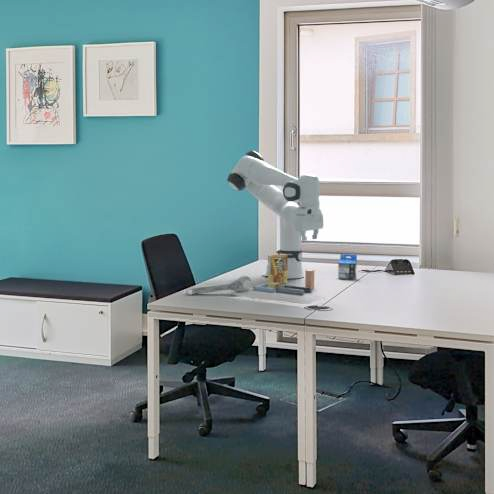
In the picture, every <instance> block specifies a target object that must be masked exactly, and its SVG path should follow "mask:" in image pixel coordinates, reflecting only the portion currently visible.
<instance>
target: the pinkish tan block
mask: <svg viewBox="0 0 494 494" xmlns="http://www.w3.org/2000/svg"><path fill="white" fill-rule="evenodd" d="M304 272H305V275H304V277H305V280H304V282H305V285H304V287H308V288H312V290H313V289H315V269H306V270H305V271H304Z"/></svg>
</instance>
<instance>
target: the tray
mask: <svg viewBox="0 0 494 494" xmlns="http://www.w3.org/2000/svg"><path fill="white" fill-rule="evenodd" d="M284 285H285V284H280V287H282V288H284ZM252 289H253V291H259V292H266V293H267V292H268V293H276V291H275V289H273V288H268V282H267V283H262V284H258V285H255V286H253V287H252Z"/></svg>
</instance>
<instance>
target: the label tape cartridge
mask: <svg viewBox="0 0 494 494" xmlns="http://www.w3.org/2000/svg"><path fill="white" fill-rule="evenodd" d="M357 257H358V256H357V254H347V253H346V254H344V253H340V257H339V261H338V267H337V269H338V270H337V271H338V273H337V275H338V276H337V277H338V279H343V280H345V279H346V280H356V279H357V269H358V268H357V265H358V264H357V262H358V260H357Z"/></svg>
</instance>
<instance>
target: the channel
mask: <svg viewBox="0 0 494 494" xmlns="http://www.w3.org/2000/svg"><path fill="white" fill-rule="evenodd" d="M283 285H284V288H282V287H276V291H275V293H278V294H279V293H280V294H286V295H287V294H288V295H296V296H304V295H307V294H311V293H313V289H312V288H308V287H305V286H298V285H292V284H291V285H290V284H283Z"/></svg>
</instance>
